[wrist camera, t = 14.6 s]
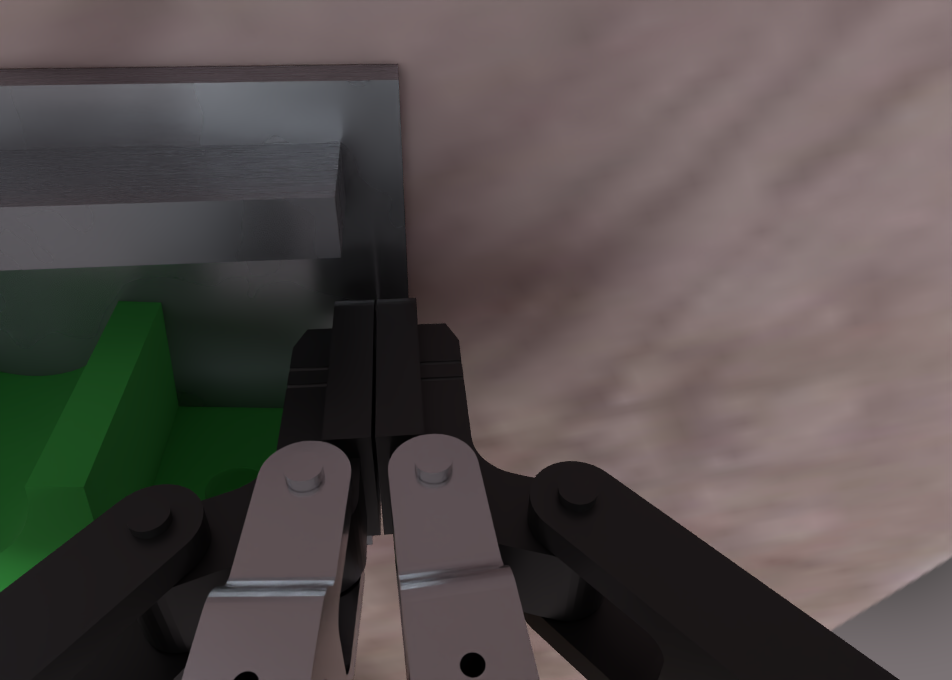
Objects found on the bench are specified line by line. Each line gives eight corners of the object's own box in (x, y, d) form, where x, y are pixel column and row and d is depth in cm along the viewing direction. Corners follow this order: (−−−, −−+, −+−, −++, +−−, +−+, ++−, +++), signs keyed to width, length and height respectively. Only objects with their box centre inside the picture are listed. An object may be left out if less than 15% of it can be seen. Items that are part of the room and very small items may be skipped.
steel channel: (-632, 76, 11) (-900, 155, 8) (397, 64, 12) (402, 127, 10) (-236, 516, 17) (-329, 629, 14) (416, 473, 18) (421, 569, 16)
